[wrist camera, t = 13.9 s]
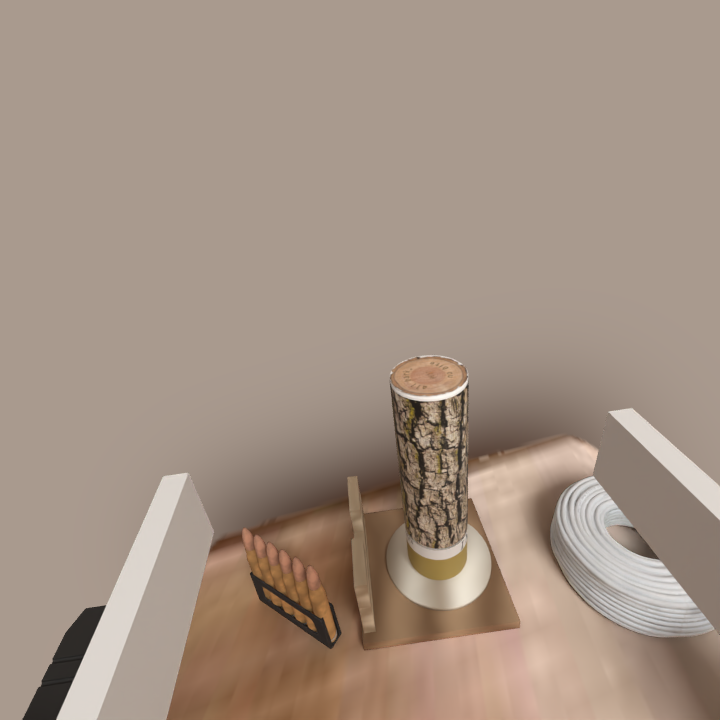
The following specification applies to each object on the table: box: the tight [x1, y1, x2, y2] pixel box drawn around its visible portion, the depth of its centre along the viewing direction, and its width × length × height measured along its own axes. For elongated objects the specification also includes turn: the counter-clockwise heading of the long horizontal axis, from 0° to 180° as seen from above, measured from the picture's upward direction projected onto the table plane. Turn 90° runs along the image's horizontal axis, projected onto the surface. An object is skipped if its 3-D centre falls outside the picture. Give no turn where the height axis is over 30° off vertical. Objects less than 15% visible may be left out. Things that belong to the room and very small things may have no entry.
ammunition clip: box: [242, 528, 341, 649], centre depth 43 cm, size 11×2×12 cm, turn 57°
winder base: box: [348, 476, 520, 650], centre depth 47 cm, size 16×16×9 cm
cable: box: [550, 476, 715, 637], centre depth 45 cm, size 18×18×6 cm
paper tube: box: [390, 355, 468, 580], centre depth 42 cm, size 7×7×25 cm
